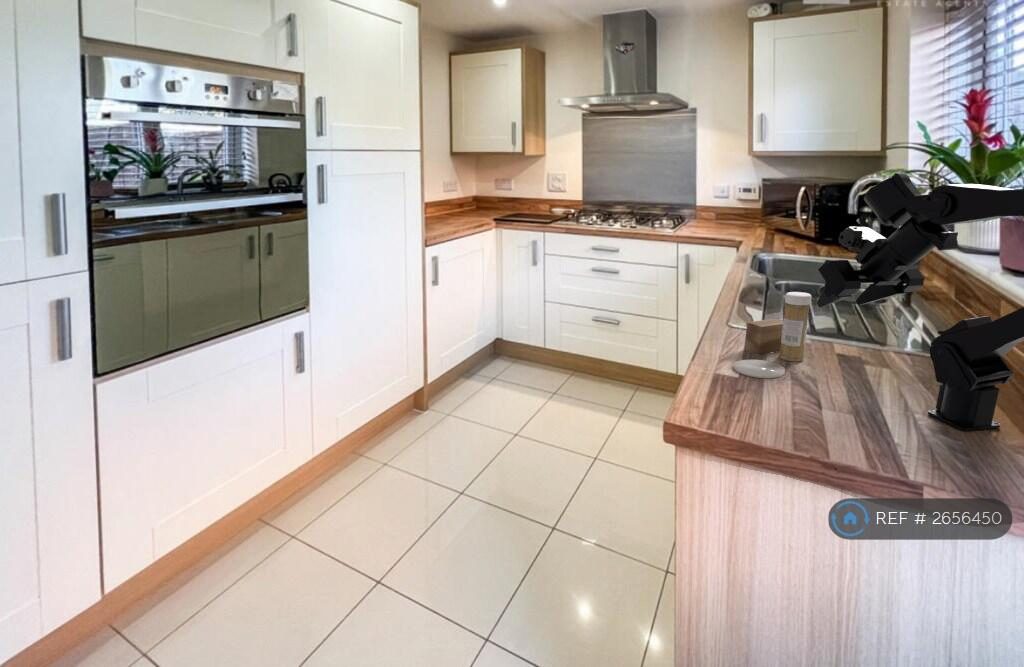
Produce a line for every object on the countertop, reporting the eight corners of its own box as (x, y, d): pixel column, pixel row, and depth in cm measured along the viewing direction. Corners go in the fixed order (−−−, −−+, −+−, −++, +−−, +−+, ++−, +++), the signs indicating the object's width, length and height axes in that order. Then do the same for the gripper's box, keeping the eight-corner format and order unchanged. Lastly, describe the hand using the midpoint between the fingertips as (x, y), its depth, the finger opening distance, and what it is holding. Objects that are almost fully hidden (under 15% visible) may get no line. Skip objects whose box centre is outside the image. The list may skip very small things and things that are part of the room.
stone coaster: (794, 376, 108) (795, 373, 108) (749, 379, 107) (750, 376, 106) (767, 361, 116) (767, 358, 116) (724, 364, 115) (725, 361, 115)
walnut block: (788, 350, 123) (791, 322, 122) (758, 354, 120) (761, 326, 119) (773, 345, 127) (776, 318, 125) (744, 349, 124) (747, 322, 122)
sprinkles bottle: (807, 359, 117) (816, 293, 113) (794, 363, 115) (803, 296, 111) (786, 353, 121) (794, 290, 117) (773, 358, 118) (781, 292, 115)
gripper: (918, 211, 101) (854, 268, 113) (835, 210, 95) (777, 271, 107) (957, 261, 95) (885, 315, 108) (871, 264, 89) (805, 321, 102)
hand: (838, 304), depth 106 cm, fingers open, 9 cm apart
